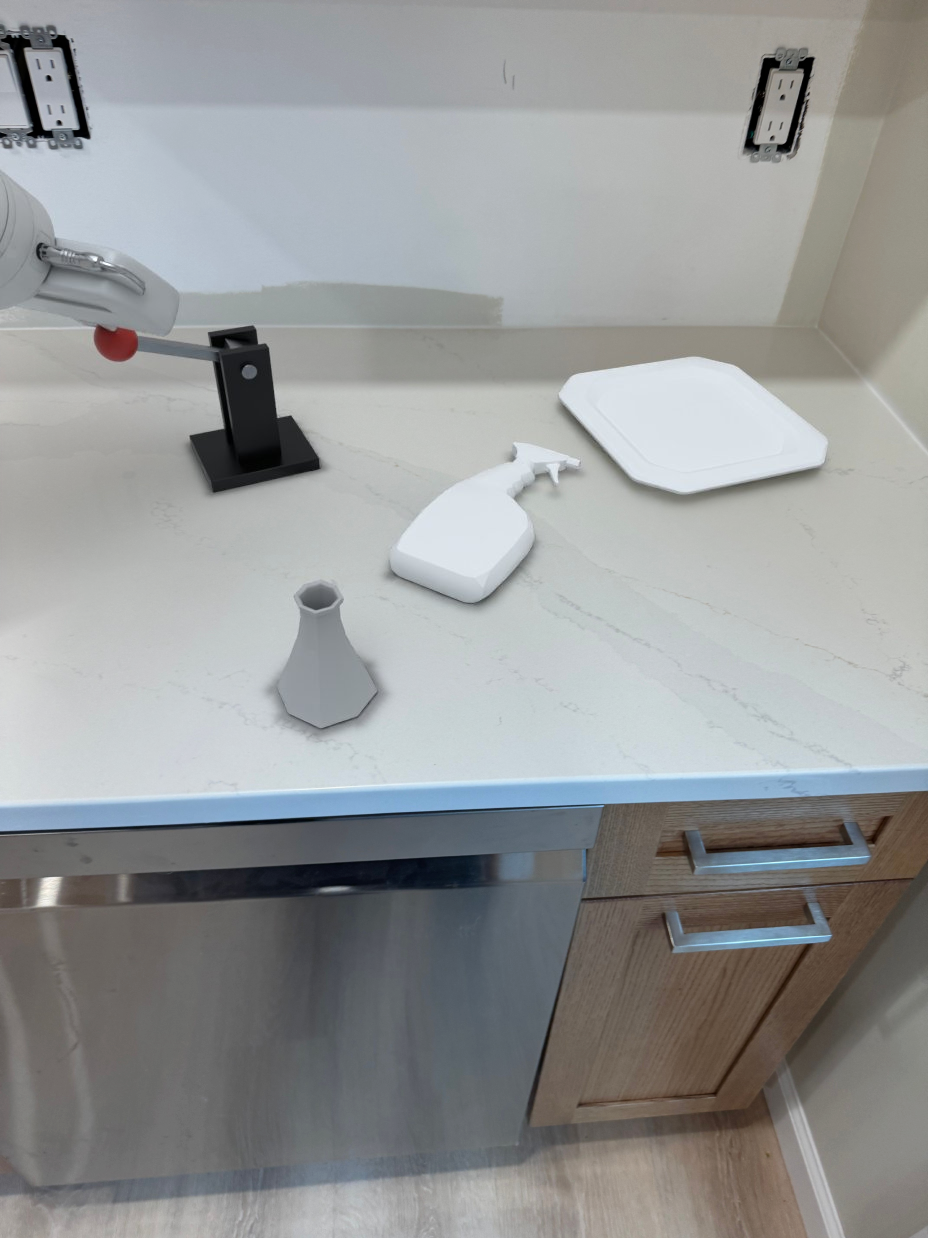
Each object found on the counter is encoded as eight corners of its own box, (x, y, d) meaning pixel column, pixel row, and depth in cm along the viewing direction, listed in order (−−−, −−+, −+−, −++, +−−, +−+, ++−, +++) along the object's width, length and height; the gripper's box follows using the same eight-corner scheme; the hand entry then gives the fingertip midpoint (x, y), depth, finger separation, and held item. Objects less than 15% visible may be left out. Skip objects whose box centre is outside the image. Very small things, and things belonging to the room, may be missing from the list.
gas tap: (213, 492, 80) (189, 371, 71) (191, 445, 86) (166, 328, 77) (320, 468, 84) (310, 351, 75) (292, 425, 90) (280, 310, 81)
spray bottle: (377, 571, 73) (499, 447, 89) (486, 615, 70) (592, 478, 86) (377, 545, 71) (501, 423, 87) (489, 589, 68) (596, 454, 84)
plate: (648, 515, 81) (652, 497, 80) (541, 394, 98) (543, 377, 96) (845, 473, 89) (853, 455, 87) (715, 367, 105) (719, 350, 103)
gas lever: (95, 366, 70) (99, 325, 68) (88, 347, 72) (92, 307, 70) (256, 385, 78) (264, 350, 76) (246, 368, 80) (253, 333, 78)
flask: (335, 642, 67) (327, 547, 60) (394, 693, 63) (393, 599, 56) (260, 688, 63) (243, 592, 56) (318, 745, 59) (307, 650, 52)
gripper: (127, 216, 54) (223, 305, 68) (-129, 171, 58) (11, 263, 71) (104, 309, 54) (204, 379, 68) (-151, 258, 58) (-7, 334, 71)
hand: (103, 319), depth 70 cm, fingers closed, pressing on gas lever
